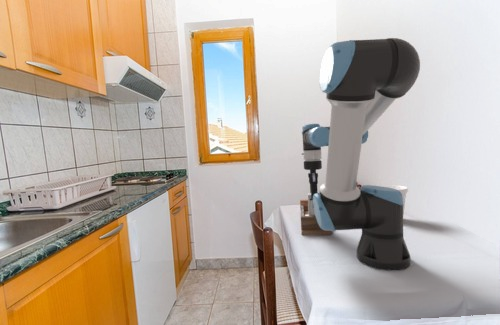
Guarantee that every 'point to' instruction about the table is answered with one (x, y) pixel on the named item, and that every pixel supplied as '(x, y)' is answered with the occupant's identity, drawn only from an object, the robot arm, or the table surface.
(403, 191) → the cup
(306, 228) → the track
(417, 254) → the table surface
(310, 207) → the block
